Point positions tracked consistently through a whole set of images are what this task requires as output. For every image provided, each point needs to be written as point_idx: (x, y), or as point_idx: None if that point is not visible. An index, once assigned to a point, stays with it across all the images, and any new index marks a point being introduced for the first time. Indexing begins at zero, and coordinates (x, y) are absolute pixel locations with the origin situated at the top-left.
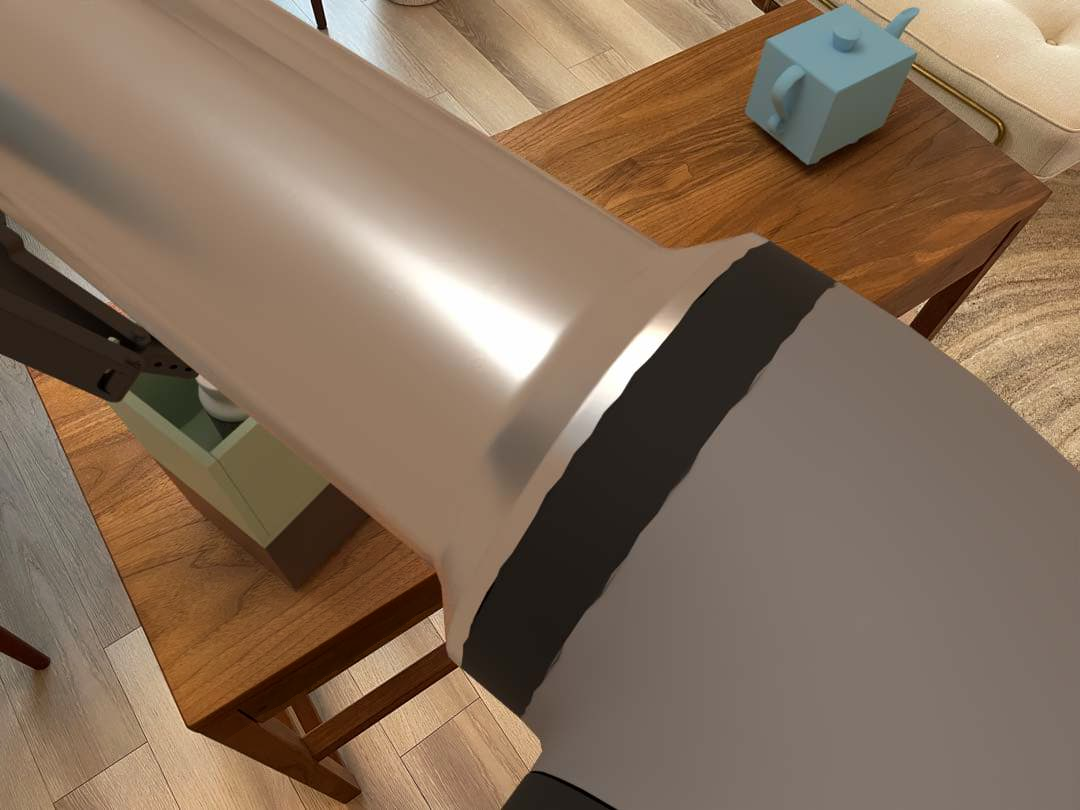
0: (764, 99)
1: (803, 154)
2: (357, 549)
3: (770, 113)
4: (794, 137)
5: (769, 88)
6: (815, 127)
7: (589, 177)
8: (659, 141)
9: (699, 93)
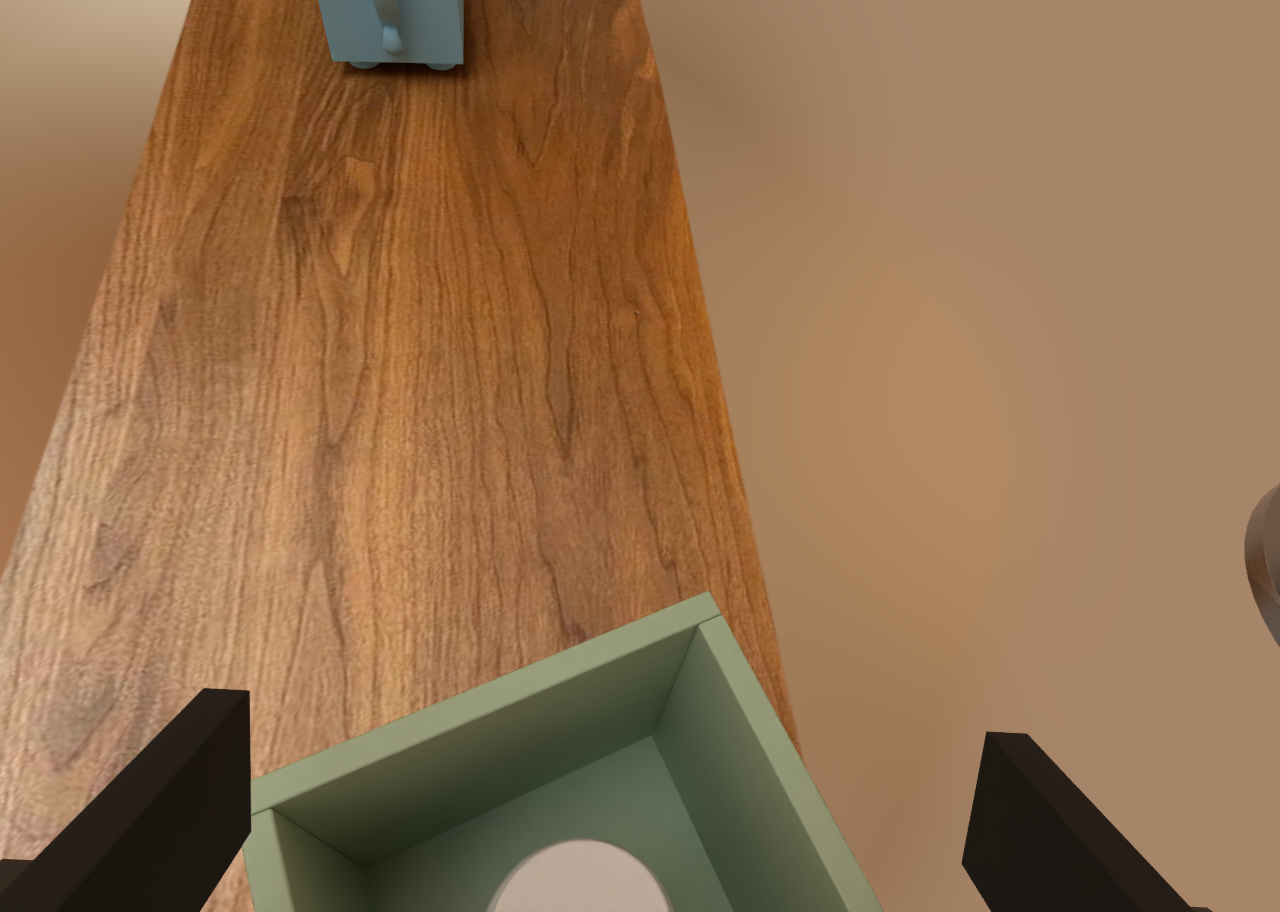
0: (351, 22)
1: (450, 54)
2: None
3: (371, 34)
4: (425, 42)
5: (350, 2)
6: (447, 8)
7: (272, 253)
8: (284, 157)
9: (245, 81)
